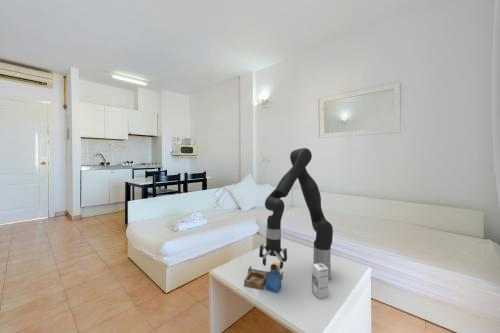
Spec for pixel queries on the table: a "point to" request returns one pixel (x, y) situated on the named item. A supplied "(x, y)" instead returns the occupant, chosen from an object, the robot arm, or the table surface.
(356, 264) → the table surface
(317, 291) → the syrup box
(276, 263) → the tan rectangular block
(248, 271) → the rail
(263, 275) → the tray
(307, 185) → the robot arm
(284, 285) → the table surface
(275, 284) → the perfume bottle
